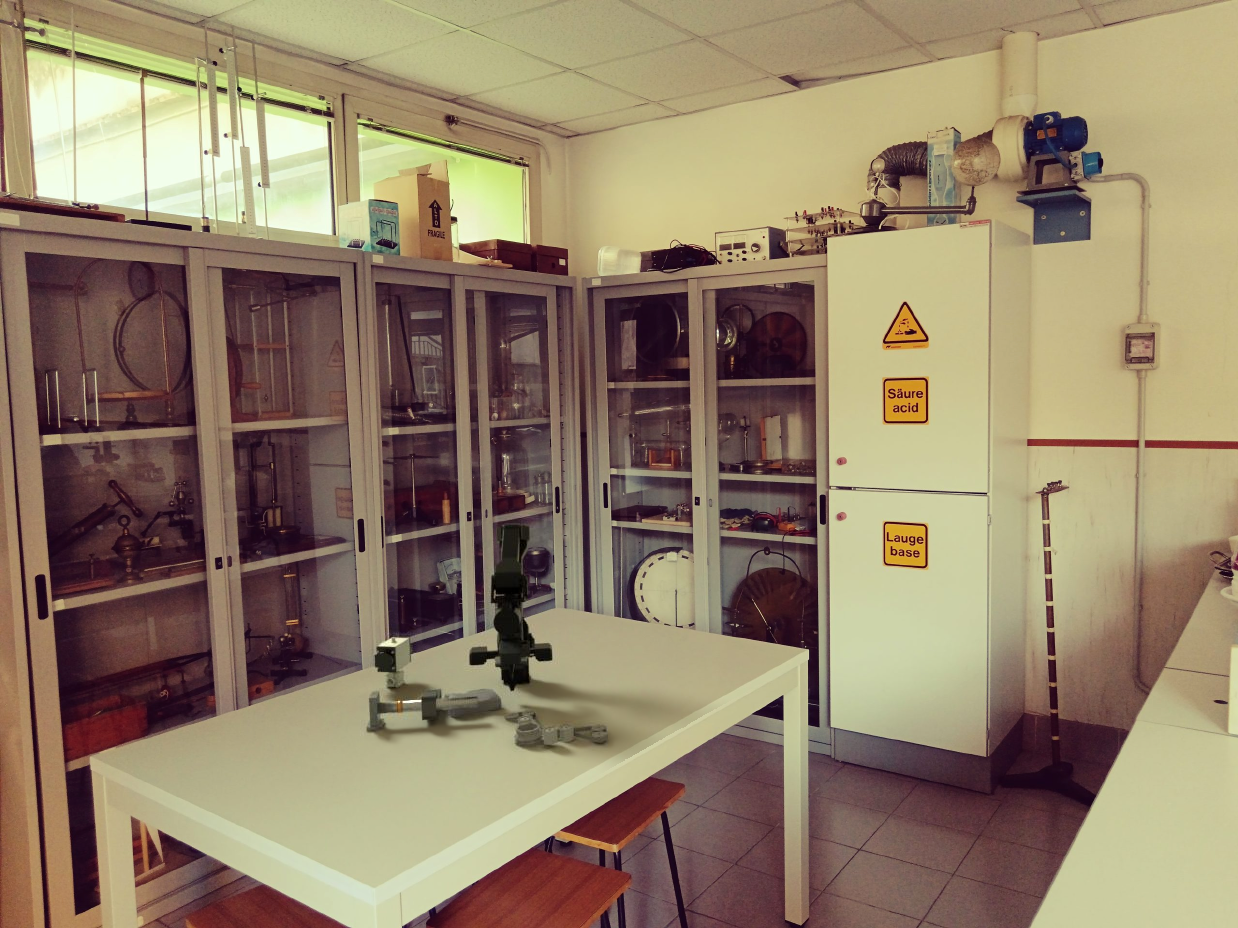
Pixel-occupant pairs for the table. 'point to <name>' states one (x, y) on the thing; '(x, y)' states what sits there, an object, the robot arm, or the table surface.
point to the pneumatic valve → (393, 659)
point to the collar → (430, 704)
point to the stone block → (485, 702)
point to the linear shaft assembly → (411, 707)
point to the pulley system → (550, 731)
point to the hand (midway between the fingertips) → (512, 690)
